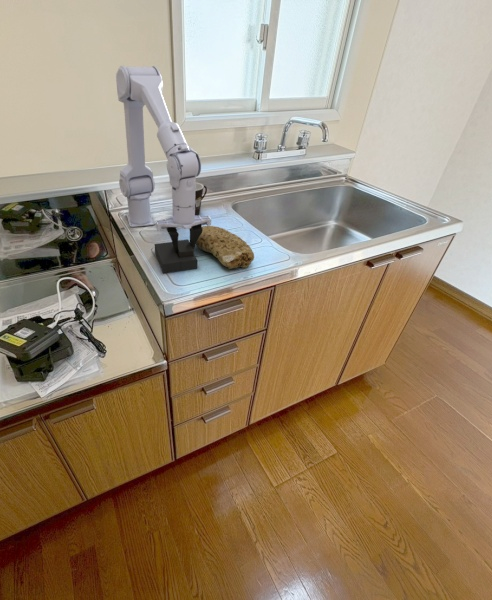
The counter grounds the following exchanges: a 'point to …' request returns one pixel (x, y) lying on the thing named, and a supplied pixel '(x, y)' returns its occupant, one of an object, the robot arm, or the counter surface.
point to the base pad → (173, 259)
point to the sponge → (225, 247)
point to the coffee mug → (199, 197)
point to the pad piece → (185, 249)
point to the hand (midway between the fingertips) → (183, 250)
